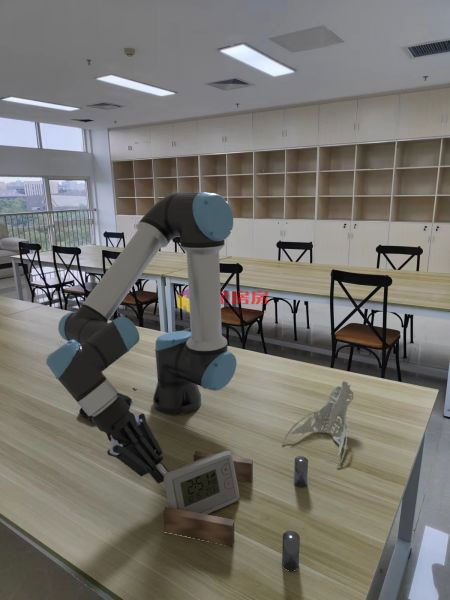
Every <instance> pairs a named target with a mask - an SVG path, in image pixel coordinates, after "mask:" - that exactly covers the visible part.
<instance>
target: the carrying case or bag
mask: <svg viewBox="0 0 450 600" xmlns="http://www.w3.org/2000/svg"><path fill="white" fill-rule="evenodd" d="M117 396H121V397H122V398H123V399H124V400H125V402H126V403H127V404H128V405H129V406H130V405H132V403H133V399H132V397H130V396H127V395H125V394H123V393H121V392H118V393H117ZM79 415H80V416H83V418H85V419H88V420H90V421H92V417H93V416H88V415H87V414H86V413H85V411H84V410H83V409H82V408H81V407H80V409H79Z"/></svg>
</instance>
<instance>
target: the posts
mask: <svg viewBox="0 0 450 600" xmlns="http://www.w3.org/2000/svg"><path fill="white" fill-rule="evenodd" d="M293 468H294V469H293V472H294V473H293V484H294V485H295V486H296V487H297V488H305V487H307V486H308V476H309V474H308V472H309V471H308V470H309V460H308V458H307V457H305V456H303V455H301V456H300V455H299V456H296V457H294V467H293ZM300 543H301V536H300V535H299V533H298V532H296V531H293V530H286V531H285V532H284V533H283V534H282V547H281V548H282V549H281V552H282V554H281V566H282V565H283V566H282V568H283V567H284V568H285V569H287V570H289V571H294V570H296V569H297V568H298V569H299V566H300V547H301V546H300V545H301V544H300ZM284 568H283V569H284ZM285 569H284V570H285ZM298 569H297V570H298ZM287 570H286V571H287ZM297 570H296V571H297ZM289 571H288V572H289ZM294 572H295V571H294Z"/></svg>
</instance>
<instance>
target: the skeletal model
mask: <svg viewBox="0 0 450 600" xmlns="http://www.w3.org/2000/svg"><path fill="white" fill-rule="evenodd" d="M348 382H349V381H346V380H342V383H341V386H339V385H338V386H336V387H333V388H332V390H331V391H330V393H329V397H328V401H327V402H326V403H325V405H323V406H322V407H321V408H320V409H316V410H314V411H311V413H309V414H307V415H305V416H304V417H302V418H300V419H299V420H298V421H297V422H296V423H294V424H293V425H292V427H291V428H290V429H289V430H288V432H287V433H286V435H285V436H284V438H283V440H282V442H281V445H282V446H284V443H285V441H286V439H287V437H289V435H290V436H291V435H295V434H296V435H297V434H302V436H303V435H305V434H306V433H321V434H324V433H327V434H330V436H331V437H332V439H333V441H334V442H336V443H337V444H338V446H339V447H338V454H337V456H340V455H341V454H342V450H343V454H342V456H341V459H340V461H339V463H338V464H337V466H336V469H338V468H339V467H340V466H341V465H342V462H343V459H344V457H345V454H346V452H347V444H348V432H349V431H348V429H349V423H348V419H347V411H348V406H349V405H350V404H351V402H352V401H353V400H354V392H353V390H352V389H351V384H349V383H348ZM348 399H349V400H348ZM312 414H313V416H311V415H312ZM309 416H310V417H309ZM307 417H308V419H307V420H306V421H304V422H303V424H301V425H300V426H298V427H297V428H295V427H296V426H297V425H298V424H299V423H300V422H302V421H303V420H305V419H306V418H307ZM338 417H339V418H338ZM314 419H315V420H314ZM313 420H314V421H313ZM333 427H334V429H333ZM294 428H295V429H294ZM293 429H294V430H293ZM344 442H345V443H344ZM343 446H344V449H342V448H343Z"/></svg>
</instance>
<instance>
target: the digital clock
mask: <svg viewBox="0 0 450 600" xmlns="http://www.w3.org/2000/svg"><path fill="white" fill-rule="evenodd" d="M215 454H216V455H211V456H208V457H205V458H203V459H200V460H197V461H195V462H194V461H192V462H190V463H187V464H184V465H181V466H180V467H179V468H176V469H173V470H170V471H169V472H168V473H166V474H165V475H164V485H165V489H164V490H165V495H166V500H167V507H169V508H175V509H180V510H185V511H190V512H196V513H201V514H206V515H210V514H212V513H214V512H215V511H218V510H220V509H222V508H225V507H227V506H229V505H231V504H234V503H235V502H237V501H239V499H240V492H239V485H238V480H237V479H236V474H235V468H234V463H233V458H232V457H233V454H232V452H231V451H230V450H223V451H222V452H219V453H215ZM213 511H214V512H213Z"/></svg>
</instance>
